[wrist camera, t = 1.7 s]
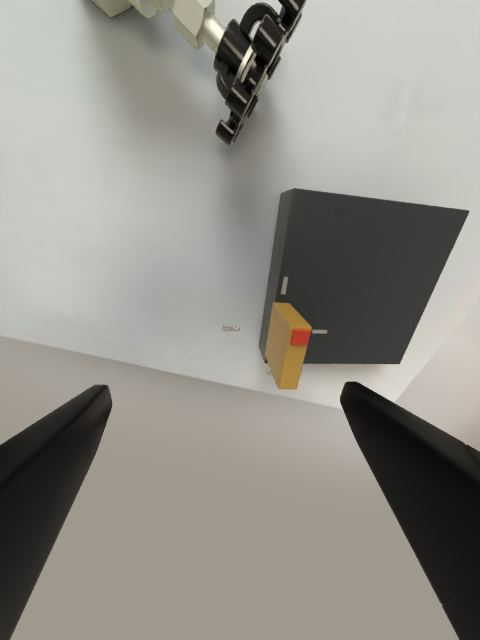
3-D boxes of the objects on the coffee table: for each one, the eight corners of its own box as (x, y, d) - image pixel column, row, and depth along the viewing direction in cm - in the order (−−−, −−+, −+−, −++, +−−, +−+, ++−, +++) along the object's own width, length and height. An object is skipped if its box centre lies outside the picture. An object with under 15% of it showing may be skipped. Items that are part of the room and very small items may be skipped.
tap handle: (279, 354, 20) (298, 391, 16) (264, 354, 20) (279, 391, 16) (289, 302, 18) (314, 328, 14) (272, 301, 18) (292, 328, 14)
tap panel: (376, 356, 25) (397, 374, 23) (218, 355, 23) (219, 374, 20) (434, 211, 19) (472, 210, 17) (228, 186, 17) (232, 179, 14)
